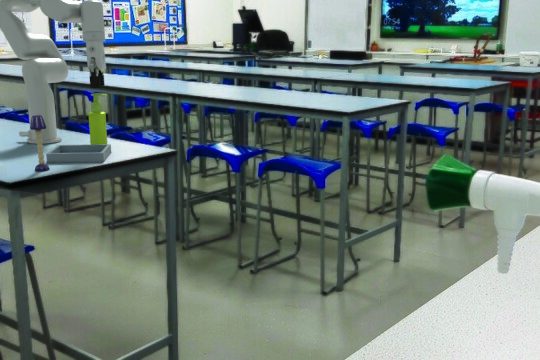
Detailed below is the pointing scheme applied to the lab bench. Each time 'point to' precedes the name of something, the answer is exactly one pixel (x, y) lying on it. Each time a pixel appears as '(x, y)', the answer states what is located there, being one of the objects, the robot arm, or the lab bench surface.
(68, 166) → the lab bench surface
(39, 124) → the toy lamp
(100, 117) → the soap dispenser
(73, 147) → the tray
